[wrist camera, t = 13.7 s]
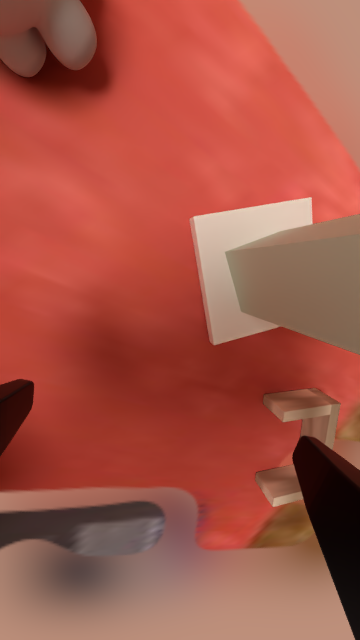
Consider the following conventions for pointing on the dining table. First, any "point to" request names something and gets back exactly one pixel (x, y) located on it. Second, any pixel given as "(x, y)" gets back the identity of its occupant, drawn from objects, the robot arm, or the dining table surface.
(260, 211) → the ceramic tile
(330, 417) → the birch stall
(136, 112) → the dining table surface
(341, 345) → the sage block
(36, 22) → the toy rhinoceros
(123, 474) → the dining table surface
